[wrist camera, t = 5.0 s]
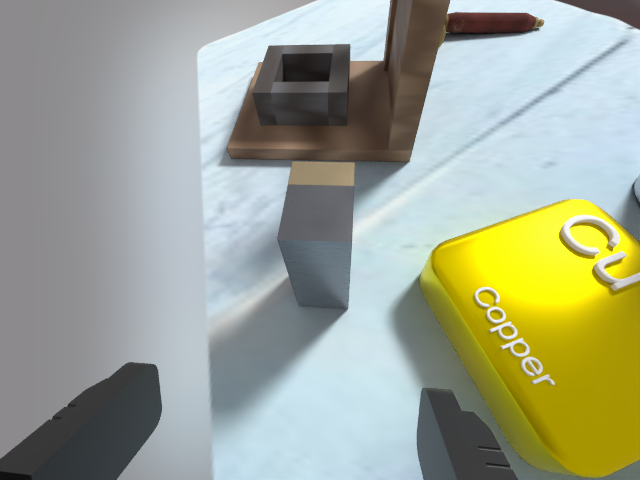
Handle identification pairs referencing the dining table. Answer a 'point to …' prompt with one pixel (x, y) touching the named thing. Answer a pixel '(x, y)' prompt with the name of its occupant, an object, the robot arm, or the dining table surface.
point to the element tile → (549, 332)
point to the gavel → (489, 23)
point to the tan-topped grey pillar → (319, 232)
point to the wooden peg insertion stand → (343, 95)
